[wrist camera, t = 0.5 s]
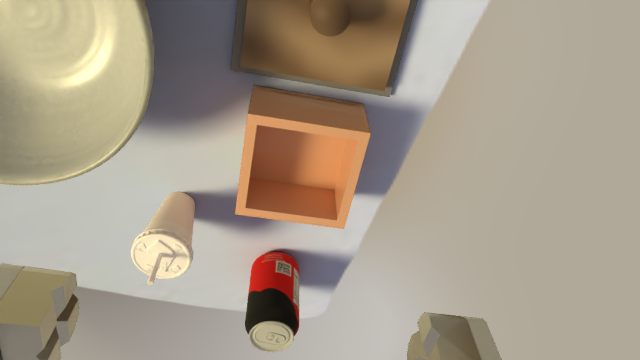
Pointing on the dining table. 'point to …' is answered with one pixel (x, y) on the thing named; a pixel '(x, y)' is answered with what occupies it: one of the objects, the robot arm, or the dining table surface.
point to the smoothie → (167, 239)
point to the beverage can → (273, 302)
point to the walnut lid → (325, 39)
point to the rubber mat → (236, 67)
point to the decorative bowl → (70, 84)
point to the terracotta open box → (301, 157)
